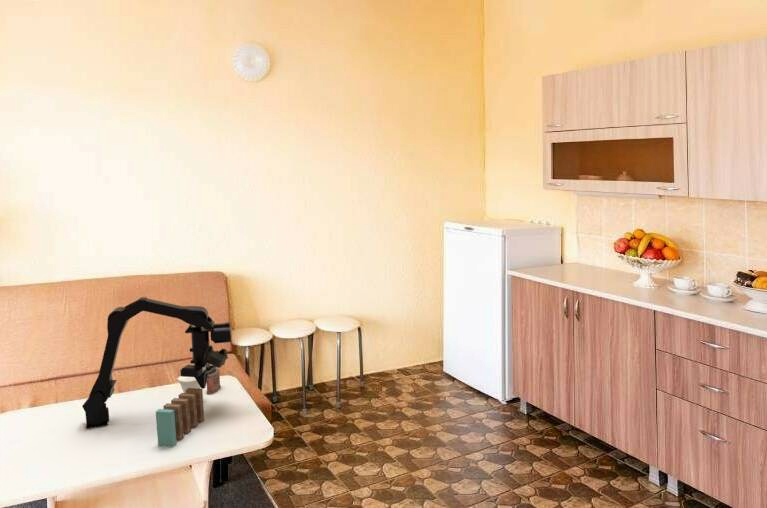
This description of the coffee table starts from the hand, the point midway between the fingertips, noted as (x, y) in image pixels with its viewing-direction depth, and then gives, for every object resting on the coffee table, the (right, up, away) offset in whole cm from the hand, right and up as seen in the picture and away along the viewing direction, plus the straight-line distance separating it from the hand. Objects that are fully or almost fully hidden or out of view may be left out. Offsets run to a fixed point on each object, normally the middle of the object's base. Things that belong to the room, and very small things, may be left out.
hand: (203, 388), depth 208 cm
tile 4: (-4, -12, -18) cm, 22 cm away
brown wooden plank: (-2, -10, -9) cm, 14 cm away
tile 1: (-1, -10, -5) cm, 11 cm away
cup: (-7, -8, +11) cm, 15 cm away
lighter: (-3, -6, +23) cm, 24 cm away
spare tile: (-4, -12, -22) cm, 26 cm away
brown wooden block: (-3, -11, -14) cm, 18 cm away
